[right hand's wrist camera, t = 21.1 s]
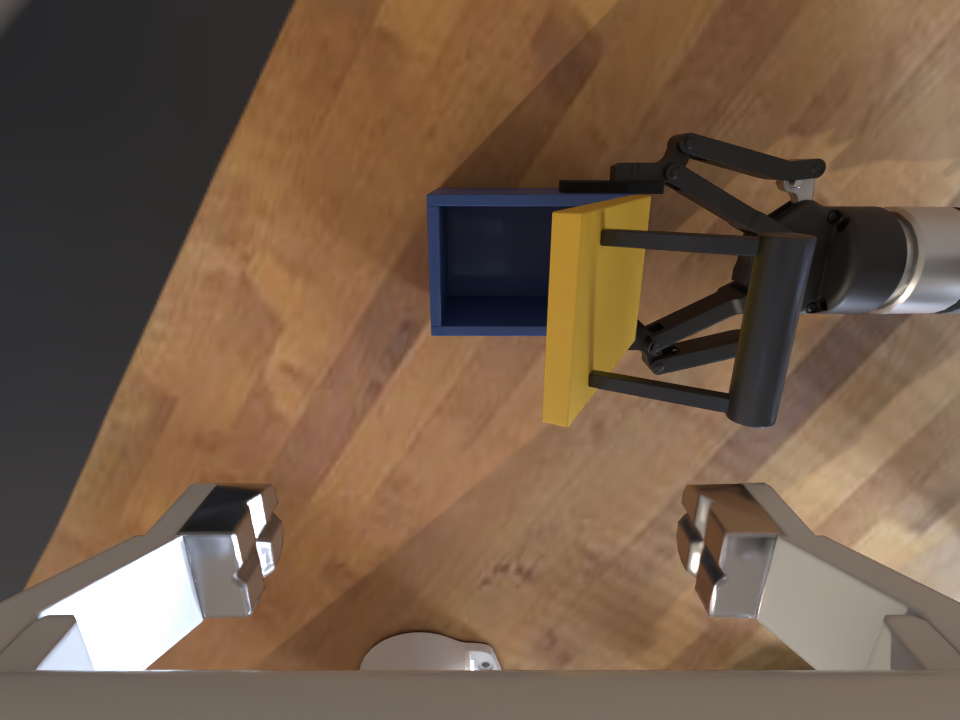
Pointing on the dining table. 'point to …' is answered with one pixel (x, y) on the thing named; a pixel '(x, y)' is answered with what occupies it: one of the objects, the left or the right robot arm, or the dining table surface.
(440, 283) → the chest
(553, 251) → the lid
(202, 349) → the dining table surface
